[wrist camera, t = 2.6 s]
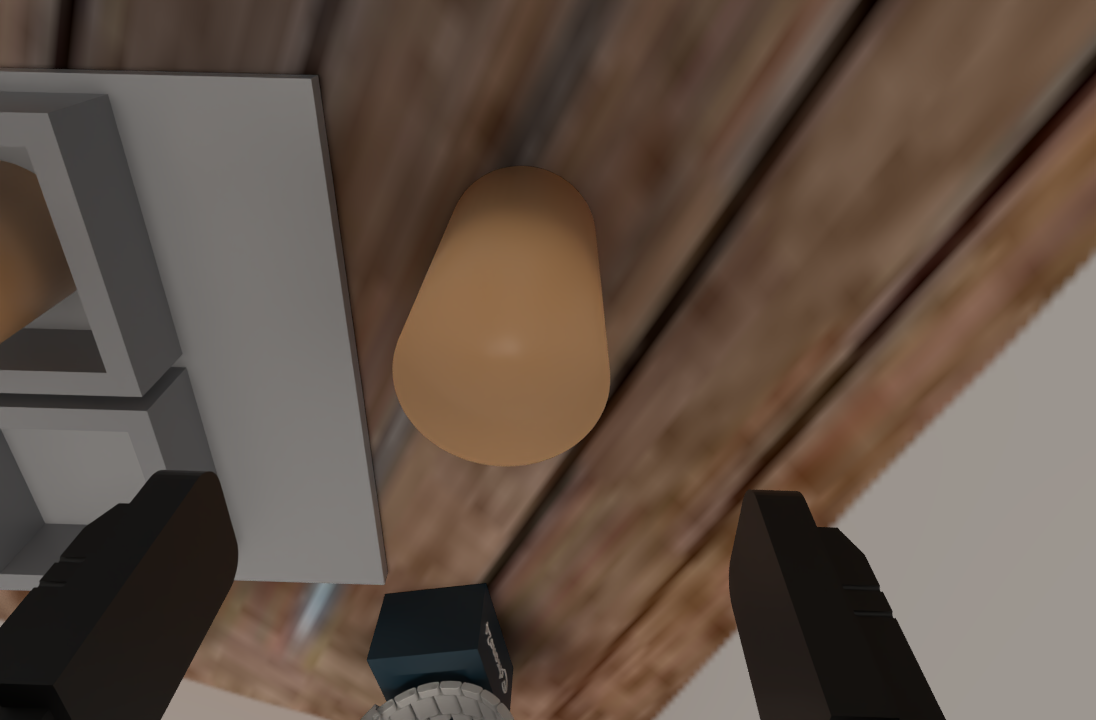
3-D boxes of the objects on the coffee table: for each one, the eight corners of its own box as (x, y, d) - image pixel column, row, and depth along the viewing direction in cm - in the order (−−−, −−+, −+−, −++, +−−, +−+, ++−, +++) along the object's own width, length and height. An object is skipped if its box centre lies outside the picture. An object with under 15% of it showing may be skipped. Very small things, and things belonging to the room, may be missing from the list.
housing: (-233, 62, 19) (-749, 136, 12) (318, 75, 19) (155, 158, 11) (22, 561, 29) (-167, 776, 21) (387, 573, 28) (324, 793, 21)
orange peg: (445, 163, 20) (381, 278, 13) (600, 167, 20) (617, 284, 13) (453, 302, 22) (402, 463, 15) (592, 306, 22) (603, 469, 15)
